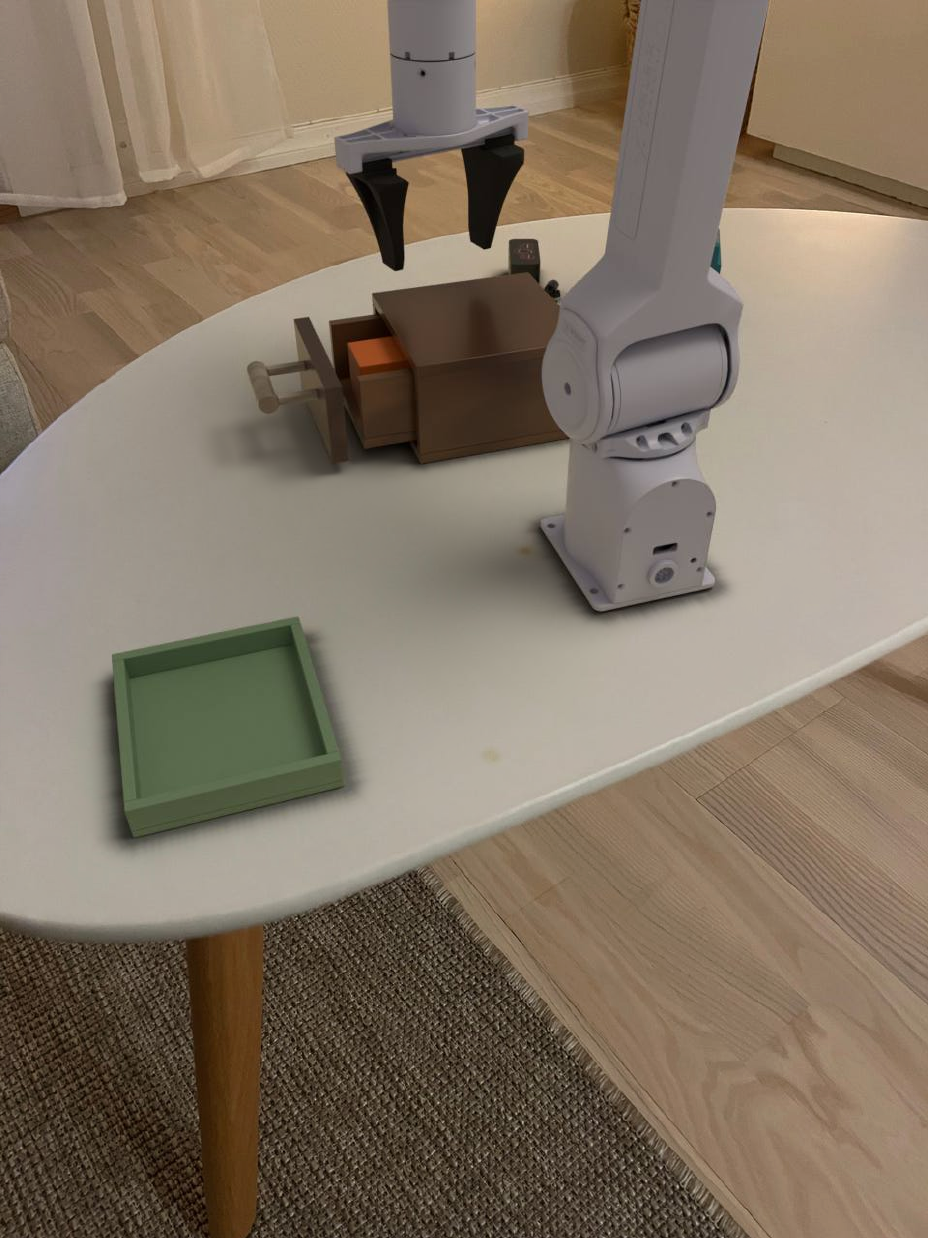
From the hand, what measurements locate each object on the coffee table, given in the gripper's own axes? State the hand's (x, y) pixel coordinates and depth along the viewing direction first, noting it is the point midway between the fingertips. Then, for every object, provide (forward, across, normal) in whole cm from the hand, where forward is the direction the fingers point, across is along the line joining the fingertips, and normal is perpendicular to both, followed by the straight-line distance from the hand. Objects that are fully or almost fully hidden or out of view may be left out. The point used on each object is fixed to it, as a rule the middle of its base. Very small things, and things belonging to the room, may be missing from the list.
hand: (437, 255), depth 76 cm
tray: (+10, +30, +28) cm, 42 cm away
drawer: (+9, +9, +4) cm, 13 cm away
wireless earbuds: (+10, -16, -10) cm, 22 cm away
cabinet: (+10, 0, +6) cm, 12 cm away
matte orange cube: (+8, +7, +4) cm, 11 cm away
